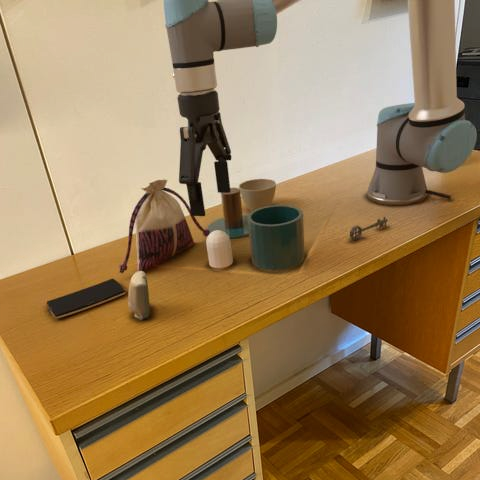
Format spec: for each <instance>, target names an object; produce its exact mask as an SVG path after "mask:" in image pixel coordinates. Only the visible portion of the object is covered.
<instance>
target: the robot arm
mask: <svg viewBox="0 0 480 480" xmlns="http://www.w3.org/2000/svg"><path fill="white" fill-rule="evenodd" d="M298 2H301V0H216V1H209V0H163V8H164V9H163V11H164V20H165V21H164V22H165V25H164V26H165V29H166V33H167V40H168V44H169V51H170V59H171V64H172V70H173V73H172V78H173V79H174V83H175V90H176V92H177V93H178V95H177V97H176V98H177V105H178V111H179V115H180V116H181V117H182V118H185V119H187V126H180V128H179V136H180V137H179V138H180V147H179V148H180V149H179V169H178V170H179V172H178V183H179V184H181V185H186V191H187V198H188V204H189V208H190V210H191V216H194V217H205V216H206V210H205V203H204V195H203V188H202V182H201V181H199V178H200V173H201V172H200V171H201V168H202V162H203V161H202V160H203V154H204V151H205V150H207V147H208V149H209V150H210V152H211V154H212V156H213V157H214V159H215V161H214V162H213V164H214V173H215V181H216V188H217V189H216V190H217V193H218V194H221V193H230V192H231V191H230V188H231V183H230V175H229V165H228V161H232V150H231V147H230V144H229V140H228V138H227V135H226V132H225V129H224V126H223V125H224V124H223V122H222V115H221V112H220V101H219V93H218V91H217V90H215V89H216V88H217V87H218V81H217V80H218V79H217V71H216V65H215V64H216V63H215V58H214V52H222V51H229V50H230V51H231V50H239V49H245V48H246V49H247V48H253V47H255V48H259V47H260V46H265V45H269V44H271V43H272V42H274V40H275V38H276V35H277V32H278V31H277V30H278V14H280V13H282V12H284V11H285V10H287V9H288V8H290V7H292V6H294V5H296V4H297V3H298ZM455 4H456V2H455V0H407V13H408V26H409V41H410V55H411V56H410V57H411V69H412V71H411V72H412V82H413V83H412V84H413V86H412V87H413V98H414V102H410V103H402V104H395V105H391V106H387V107H383V108H382V109H381V110H380V111H379V112H378V116H377V123H376V128H377V129H376V131H377V132H376V148H375V149H376V150H375V151H376V153H375V169H374V171H373V174H372V176H371V180H370V181H369V185H368V187H367V198H368V200H370V201H371V202H373V203H375V204H379V205H383V206H384V205H385V206H407V205H413V204H417V203H420V202H422V201H424V200H425V199H426V198H427V195H432V196H434V197H435V196H436V197H440V198H443V199H447V200H451V198H452V195H449V194H446V193H441V192H438V191H434V190H430V189H428V187H427V182H426V178H425V174H424V170H423V168H425V169H426V170H428V171H429V172H437V173H441V174H447V173H450V172H451V173H452V172H453V171H455V170H457V169H459V168H460V167H462V165H464V164H465V163H466V161H467V160H468V158H469V157H470V156H471V155H472V153H473V151H474V149H475V146H476V142H477V137H478V136H477V135H478V133H477V129H476V127H475V125H474V124H473V123H472V122H471V121H470V120H467V119H466V118H465V117H466V113H465V112H466V111H465V102H464V101H462V100H461V99H459V98H458V95H457V94H458V93H457V91H458V90H457V49H456V46H457V45H456V5H455ZM191 216H190V217H191Z"/></svg>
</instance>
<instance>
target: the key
mask: <svg viewBox="0 0 480 480" xmlns="http://www.w3.org/2000/svg"><path fill="white" fill-rule="evenodd" d="M387 222H388V219H387V217H386V216H383V219H381V218H378V219H376V222H375V223H372V224H370V225H367V226H365V227H363V228H362V227H361V226H360V225H354V226H352V227H351V229H350V230H349V238H350V239H351V240H352V241H357V240H359V239H360V238H361V236H362V234H363V233H362V232H365V231H367V230H370V229H372V228H377V227H378V230H379V231H380V230H383V229H384V228H386V227H387Z"/></svg>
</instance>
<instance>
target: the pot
mask: <svg viewBox="0 0 480 480" xmlns="http://www.w3.org/2000/svg"><path fill="white" fill-rule="evenodd" d="M247 215H248V216H247V221H248V231H249V236H248V239H249V241H248V242H249V249H250V259H251V263H252V265H253V266H255V267H257V268H258V269H261V270H265V271H282V270H283V271H284V270H288V269H292V268H295V267H297V266H299V265H300V264H301V263H303V262H304V260H305V258H306V255H305V254H306V253H305V230H304V229H305V228H304V211H303V210H302V209H301V208H300V207H297V206H295V205H288V204H273V205H272V204H271V205H270V206H266V207H262V208H259V209H256V210H254V211H250V212H249V214H247Z"/></svg>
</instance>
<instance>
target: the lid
mask: <svg viewBox="0 0 480 480" xmlns="http://www.w3.org/2000/svg"><path fill="white" fill-rule="evenodd" d="M230 191H231V192H230V193H220V199H221V206H222V213H223V216H222V217H220V218H217V219H215V220H213V221H211V222H210V223H209V224H208V226H207V227H206V229H208V230H209V231H210V233H212V232H213V231H215V230H220V231H223V232H225V233H226V234H227V235H228V236H229V239H230V240H233V239H235V240H236V239H242V238H246V237H249V231H248V221H247V216H248V215H249V214H244V213H243V205H242V196H241V193H240V189H239V187H230Z"/></svg>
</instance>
